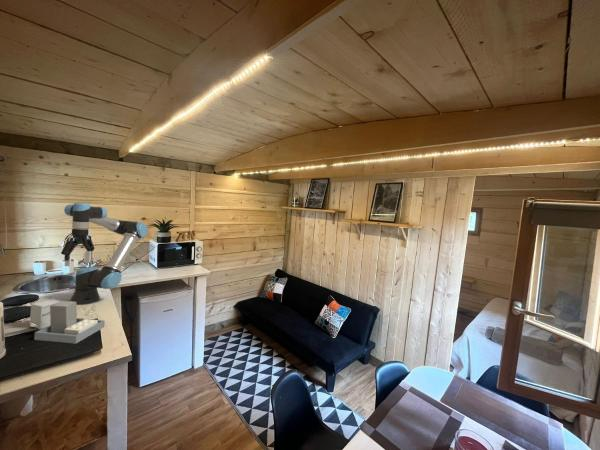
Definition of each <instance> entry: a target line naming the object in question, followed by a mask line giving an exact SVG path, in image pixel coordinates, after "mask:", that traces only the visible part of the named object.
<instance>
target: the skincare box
mask: <svg viewBox="0 0 600 450" xmlns="http://www.w3.org/2000/svg"><path fill="white" fill-rule="evenodd" d="M77 313H78V312H77V304H76V302H71V300H70V301H67V300H61V301H58V302H57V303H55V304H53V305H51V306H50V324H51V333H59V334H64V330H65V329H66V328H68V327H70V326H72V325H74V324H76V323H77V318H78V317H77Z"/></svg>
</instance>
